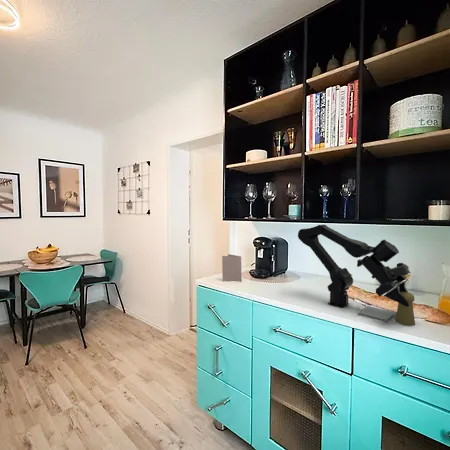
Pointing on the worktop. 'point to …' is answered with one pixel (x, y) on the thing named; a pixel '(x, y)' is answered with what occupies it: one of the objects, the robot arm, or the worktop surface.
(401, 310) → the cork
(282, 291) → the worktop surface
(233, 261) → the greeting card
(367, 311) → the plate
